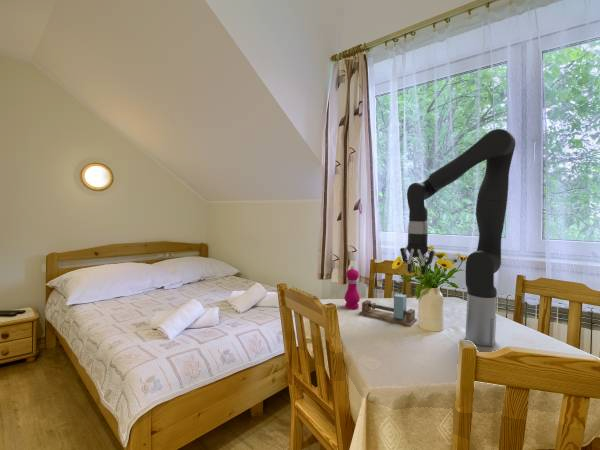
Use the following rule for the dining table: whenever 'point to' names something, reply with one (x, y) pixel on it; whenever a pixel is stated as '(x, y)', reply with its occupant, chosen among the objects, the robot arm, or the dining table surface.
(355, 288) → the pepper mill
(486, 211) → the robot arm
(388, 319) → the rail
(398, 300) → the sleeve
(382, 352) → the dining table surface
